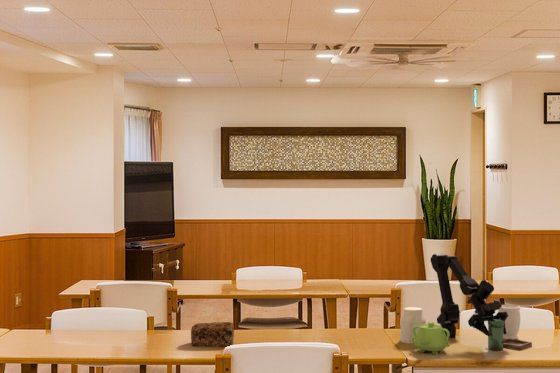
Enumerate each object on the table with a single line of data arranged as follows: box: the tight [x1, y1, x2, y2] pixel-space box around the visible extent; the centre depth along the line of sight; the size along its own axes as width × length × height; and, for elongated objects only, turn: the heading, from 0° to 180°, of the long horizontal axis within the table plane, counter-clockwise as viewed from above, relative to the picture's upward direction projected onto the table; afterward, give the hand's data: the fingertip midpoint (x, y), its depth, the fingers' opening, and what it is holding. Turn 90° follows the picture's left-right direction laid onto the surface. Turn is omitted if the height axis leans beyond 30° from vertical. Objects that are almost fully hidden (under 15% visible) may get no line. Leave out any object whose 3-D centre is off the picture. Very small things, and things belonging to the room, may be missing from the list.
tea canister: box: [487, 319, 504, 352], centre depth 351 cm, size 7×7×12 cm
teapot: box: [412, 321, 451, 355], centre depth 349 cm, size 16×14×13 cm
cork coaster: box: [484, 347, 507, 353], centre depth 351 cm, size 9×9×1 cm
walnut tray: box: [503, 339, 533, 351], centre depth 358 cm, size 11×11×2 cm
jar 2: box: [497, 304, 521, 340], centre depth 378 cm, size 11×10×15 cm
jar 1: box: [399, 306, 427, 345], centre depth 370 cm, size 12×10×15 cm
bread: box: [190, 321, 235, 348], centre depth 363 cm, size 19×11×10 cm, turn 88°
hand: (497, 334), depth 350 cm, fingers open, 9 cm apart
